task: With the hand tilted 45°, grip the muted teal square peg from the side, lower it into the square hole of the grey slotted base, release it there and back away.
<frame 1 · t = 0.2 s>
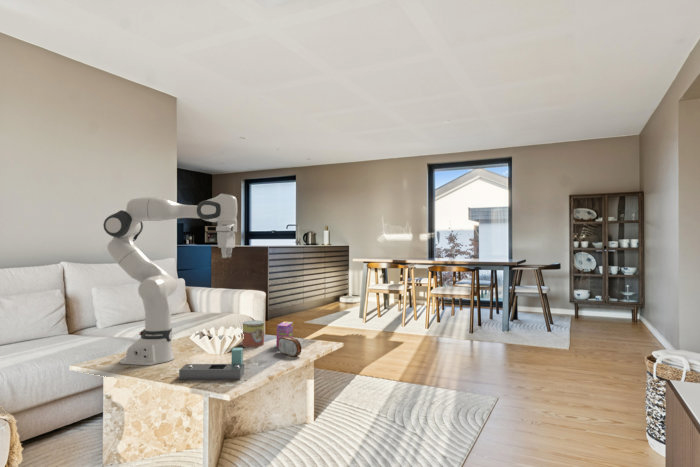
hand: (226, 257, 197), 48 cm above the table, tool pointing down, fingers open, 8 cm apart
box: (284, 346, 224), on the table
peg: (237, 369, 181), on the table
grey slotted base: (212, 376, 172), on the table
canned food: (253, 345, 225), on the table
tin: (289, 355, 206), on the table
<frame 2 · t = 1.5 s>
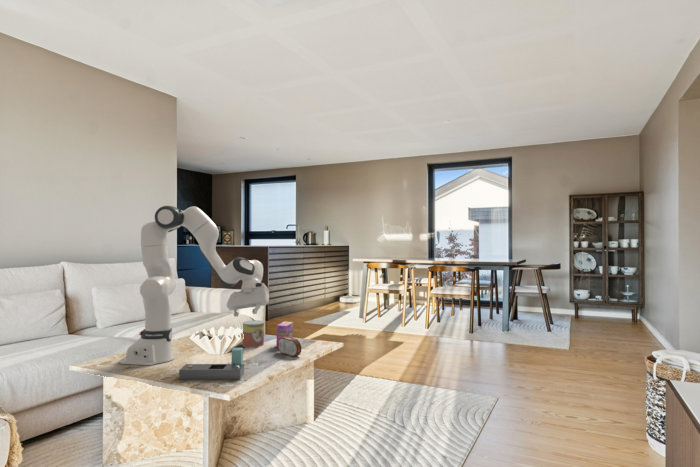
hand: (244, 314, 193), 22 cm above the table, tool tilted 40°, fingers open, 8 cm apart
nothing on the table moved.
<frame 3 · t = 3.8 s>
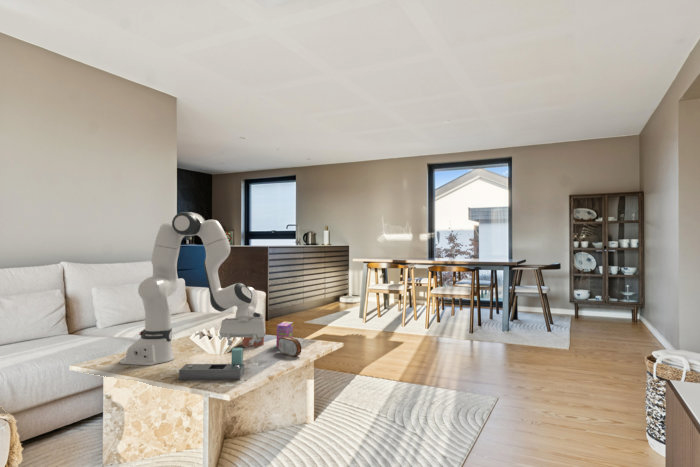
hand: (240, 344, 186), 10 cm above the table, tool tilted 45°, fingers open, 8 cm apart
nothing on the table moved.
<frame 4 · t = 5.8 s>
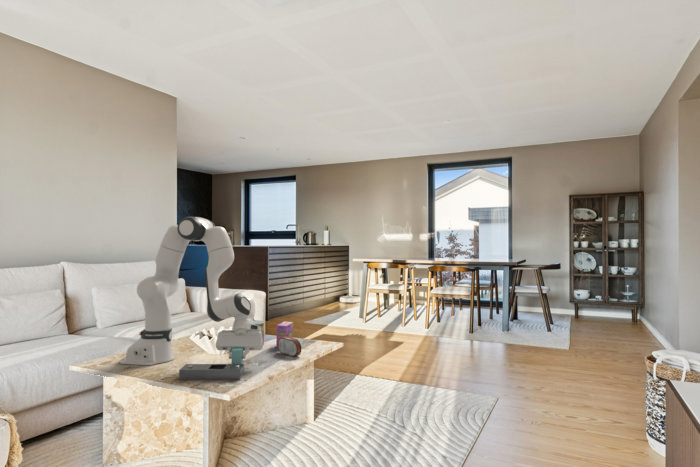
hand: (237, 358, 181), 5 cm above the table, tool tilted 45°, fingers closed on peg, 4 cm apart
peg: (237, 369, 181), on the table, touching gripper
everything else where it was.
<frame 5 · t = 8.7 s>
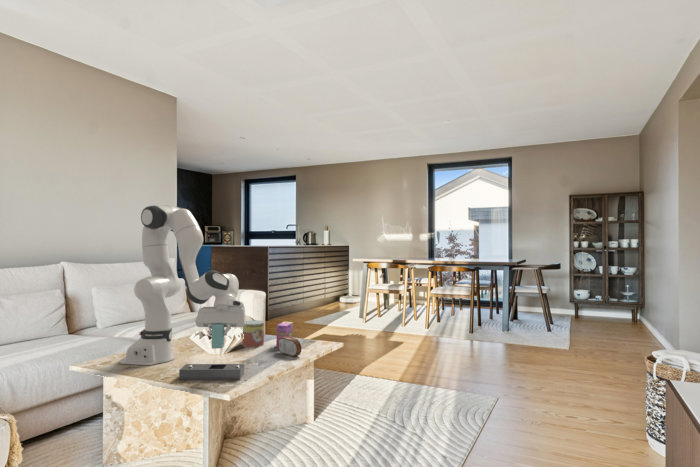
hand: (217, 334, 172), 17 cm above the table, tool tilted 45°, fingers closed on peg, 4 cm apart
peg: (217, 347, 172), point 12 cm above the table, touching gripper
everything else where it was.
when the fingers open (7 cm above the table, at t = 11.4 s): peg drops 2 cm, resting in grey slotted base.
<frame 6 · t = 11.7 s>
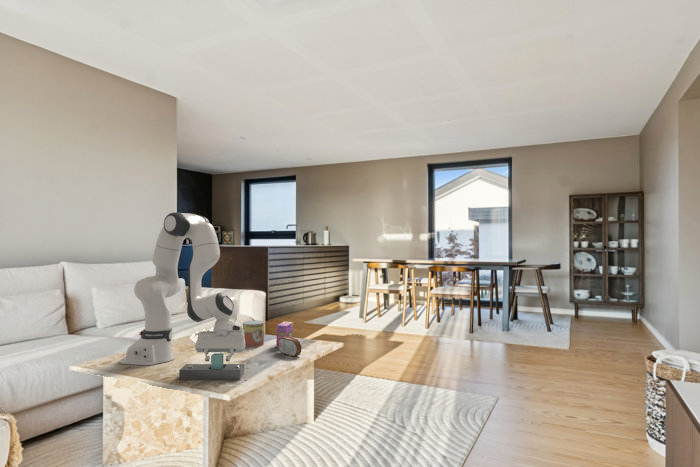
hand: (217, 360, 171), 7 cm above the table, tool tilted 45°, fingers open, 7 cm apart
peg: (217, 376, 172), resting in grey slotted base
everything else where it was.
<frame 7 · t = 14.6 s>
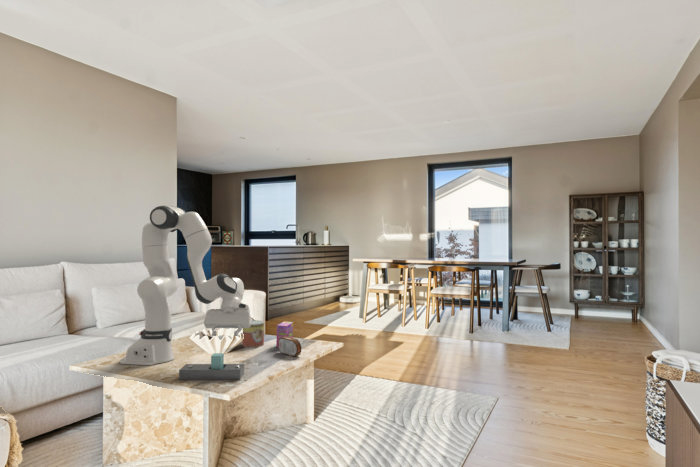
hand: (224, 335, 184), 14 cm above the table, tool tilted 45°, fingers open, 8 cm apart
nothing on the table moved.
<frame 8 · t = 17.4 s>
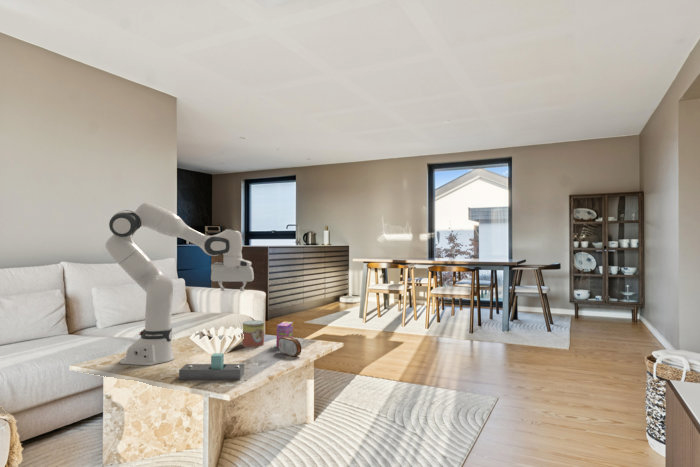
hand: (232, 290, 205), 31 cm above the table, tool pointing down, fingers open, 8 cm apart
nothing on the table moved.
at the end: peg 0.1 cm from the target spot on the grey slotted base, point 0.0 cm above the grey slotted base's base; peg tilted 0°; the gripper is holding nothing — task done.
